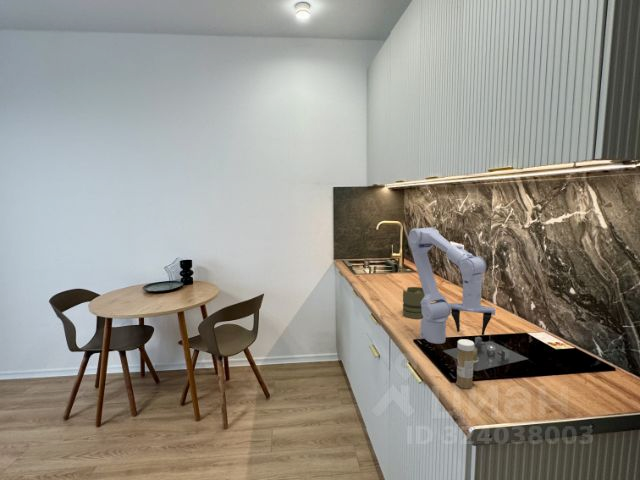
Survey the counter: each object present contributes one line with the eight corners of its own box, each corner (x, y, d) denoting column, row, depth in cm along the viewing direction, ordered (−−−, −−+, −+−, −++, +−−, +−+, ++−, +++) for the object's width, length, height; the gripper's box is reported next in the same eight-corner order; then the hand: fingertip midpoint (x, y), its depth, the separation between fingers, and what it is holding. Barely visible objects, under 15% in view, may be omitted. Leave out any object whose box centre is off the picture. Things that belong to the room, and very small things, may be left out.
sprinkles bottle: (453, 381, 110) (454, 339, 108) (468, 380, 110) (469, 338, 108) (460, 389, 105) (462, 345, 104) (475, 388, 106) (477, 344, 104)
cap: (460, 351, 128) (460, 341, 128) (477, 353, 126) (477, 344, 125) (457, 362, 120) (458, 351, 120) (476, 365, 118) (476, 354, 117)
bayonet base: (442, 353, 129) (442, 341, 129) (490, 343, 137) (491, 332, 136) (475, 373, 114) (476, 360, 114) (528, 361, 122) (528, 349, 121)
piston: (399, 291, 166) (408, 285, 176) (399, 316, 168) (407, 309, 177) (423, 294, 160) (431, 288, 170) (423, 321, 162) (431, 313, 171)
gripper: (447, 294, 121) (446, 333, 123) (496, 299, 115) (494, 340, 116) (449, 289, 127) (448, 326, 129) (496, 293, 121) (494, 332, 123)
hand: (470, 332), depth 123 cm, fingers open, 7 cm apart
